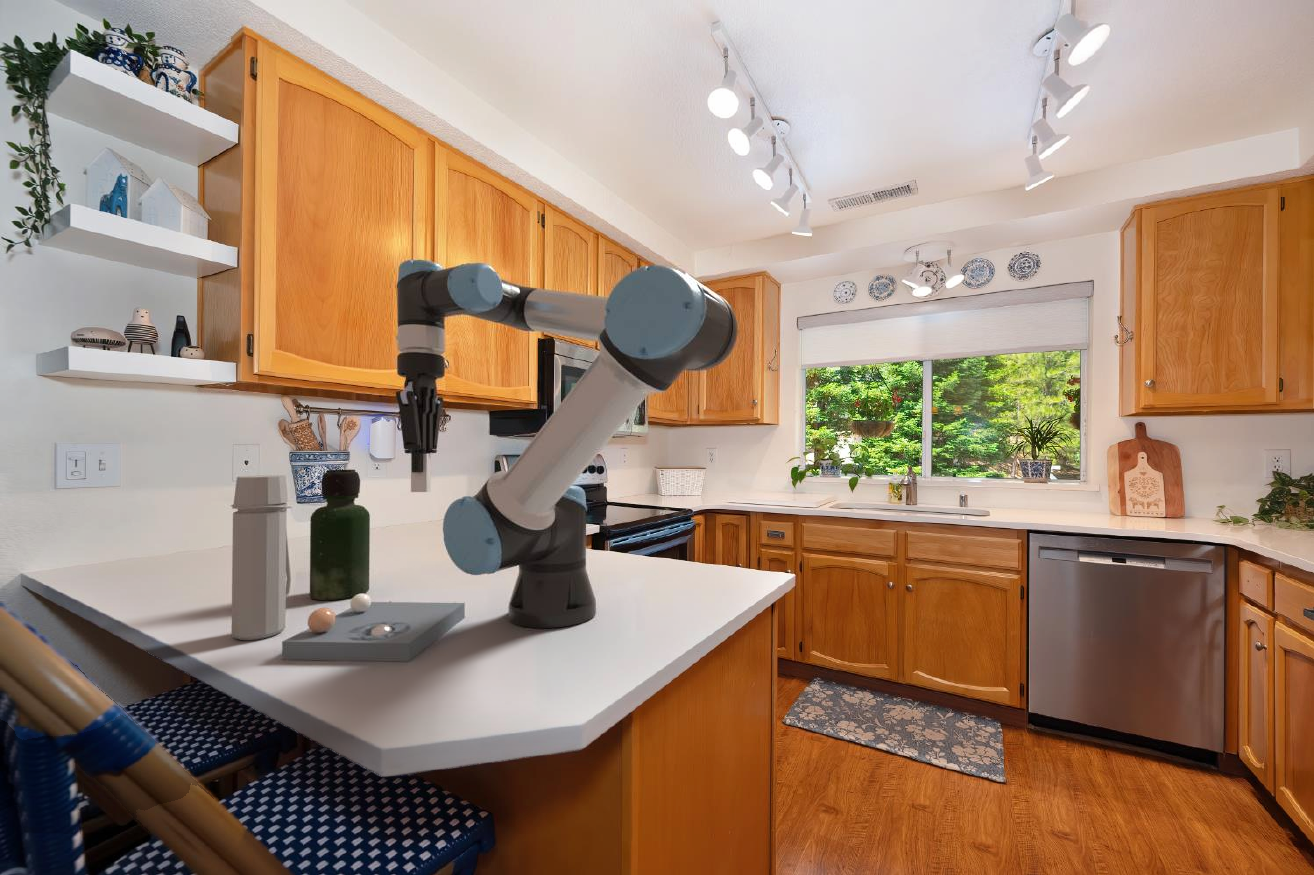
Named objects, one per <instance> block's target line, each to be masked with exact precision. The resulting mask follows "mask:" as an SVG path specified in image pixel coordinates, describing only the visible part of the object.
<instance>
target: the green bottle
mask: <svg viewBox="0 0 1314 875" xmlns="http://www.w3.org/2000/svg"><path fill="white" fill-rule="evenodd" d="M320 484H321V495H322V500H325V501H326V505H324V506H320V507H318V508H316V509H315V510H314V511H313V512H312V514H311V516H310V526H309V528H310V529H309V532H310V533H309V535H310V538H309V543H310V544H309V548H310V549H309V597H310V598H312V599H315V600H318V601H319V600H320V601H338V600H346V599H352V598H353V597H354V596H356V595H357V594H366V593H367V592H368V591H369V590H370V544H371V542H370V538H371V537H370V534H371V533H370V531H371V529H370V527H371V526H370V525H371V515H370V512H369V510H368V509H367V508H365V506H362V505H361V504H355V500H356V499H358V498H359V494H360V490H361V479H360V474H359V472H357V471H356V469H328V470H327V469H326V472H323V475H322V478H321V483H320Z"/></svg>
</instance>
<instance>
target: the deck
mask: <svg viewBox="0 0 1314 875" xmlns="http://www.w3.org/2000/svg"><path fill="white" fill-rule="evenodd" d="M465 604H466V602H419V601H418V602H414V601H413V602H411V601H410V602H408V601H407V602H406V601H402V602H401V601H398V602H397V601H371V605H370V607H369V608H368V609H367V610H366V611H364V612H361V613H358V612H355V611H353V610H352V608H351V607H350V608H349V609H347V610H344V611H342V612H340V613H337V614H336V615H335V623H334V625H333V626H332V628H331V629H329V630H328V631H326V632H323V633H316V632H313V631H312V630H310V628H309V627H308V628H307V629H305V630H303V631H301V632H299V633H296V634H294V635H292V636H291V637H289V638H287V639H285V640H283V641H282V642H281V643H282V644H281V648H282V650H281V654H282V655H281V660H284V661H285V660H288V661H291V660H293V661H294V660H295V661H349V662H350V661H353V662H355V661H356V662H360V661H361V662H404V663H405V662H410V661H411V660H412V659H414V658H415V657H416V656H417V655H419V654H420V653H421V652H423V651H424V650H425V649H427V648H428V647H429V646H430V645H432V644H433V643H434V642H435V641H437V640H438V639H439V638H441V636H443V635H444V634H445V633H447V632H448V631H449V630H451V629H452V628H453V627H454V626H455V625H457V624H458V623H460V622H461V621H462V620H463V619H465V615H466V614H465V610H466V609H465ZM382 624H384V625H388V626H390V627H391V628H392V630H393V632H391V633H388V634H384V635H378V636H370V633H371V631H372V630H373V628H375V627H376V626H378V625H382Z"/></svg>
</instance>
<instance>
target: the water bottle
mask: <svg viewBox="0 0 1314 875" xmlns="http://www.w3.org/2000/svg"><path fill="white" fill-rule="evenodd" d="M286 476H287V475H281V474H280V475H279V474H276V475H275V474H274V475H272V474H271V475H269V474H267V475H264V474H263V475H244V476H243V475H241V476H237V477H236V480H235V481H236V482H235V489H234V491H235V492H234V497H233V504H231V505H230V506H231V507H232V509H233V510H235V511H234V512H233V513H232V557H231V558H232V559H231V560H232V565H231V566H232V568H231V570H232V571H231V572H232V573H231V574H232V575H231V576H232V578H231V585H232V586H231V636H232V637H233V638H234V639H236V640H240V641H256V640H262V639H268V638H271V637H274V636H276V635H278V634H279V633H282V632H283V631H284V630H285V629H286V615H287V614H286V612H287V611H286V605H287V604H286V601H287V600H286V597H287V596H289V595H290V590H291V583H292V582H291V581H292V577H291V567H290V566H291V565H290V555H289V544H288V542H289V541H288V533H287V532H288V531H287V530H288V529H287V511H288V509H292V506H291V505H288V503H289V497H288V487H287V486H288V484H287V477H286Z"/></svg>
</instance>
